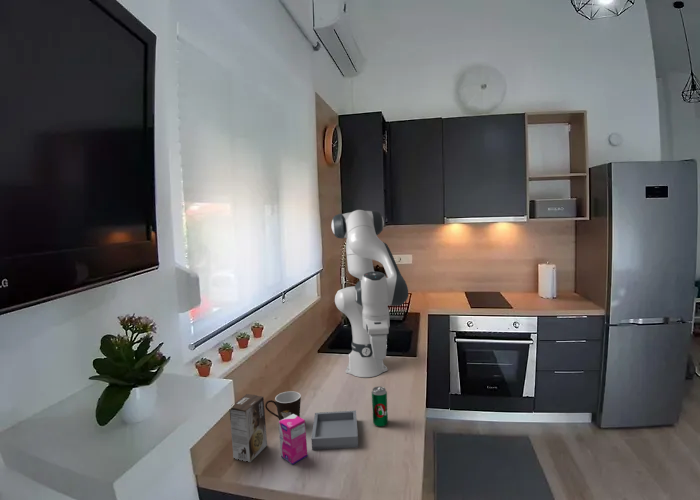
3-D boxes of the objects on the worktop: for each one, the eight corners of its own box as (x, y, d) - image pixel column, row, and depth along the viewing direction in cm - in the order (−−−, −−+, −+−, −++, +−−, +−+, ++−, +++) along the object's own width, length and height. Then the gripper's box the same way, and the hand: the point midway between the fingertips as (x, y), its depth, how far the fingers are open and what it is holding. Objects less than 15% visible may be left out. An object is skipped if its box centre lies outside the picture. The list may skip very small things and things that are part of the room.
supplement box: (280, 457, 118) (277, 420, 117) (296, 448, 122) (294, 412, 121) (292, 465, 114) (289, 427, 113) (308, 456, 118) (306, 419, 117)
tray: (315, 422, 137) (315, 412, 136) (356, 420, 137) (355, 410, 137) (312, 450, 121) (311, 438, 120) (358, 447, 121) (357, 436, 121)
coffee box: (250, 442, 127) (247, 393, 125) (267, 445, 124) (264, 395, 123) (232, 459, 118) (228, 406, 117) (250, 463, 116) (246, 409, 114)
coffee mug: (307, 422, 137) (305, 394, 136) (291, 434, 130) (289, 405, 129) (281, 414, 143) (279, 387, 142) (264, 426, 136) (262, 398, 135)
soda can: (378, 418, 138) (377, 384, 137) (391, 422, 134) (389, 388, 133) (370, 424, 134) (368, 390, 133) (382, 429, 131) (380, 393, 129)
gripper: (364, 314, 141) (366, 352, 142) (368, 331, 121) (370, 375, 122) (382, 313, 141) (384, 351, 143) (389, 330, 121) (391, 374, 122)
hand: (377, 362), depth 132 cm, fingers open, 8 cm apart
